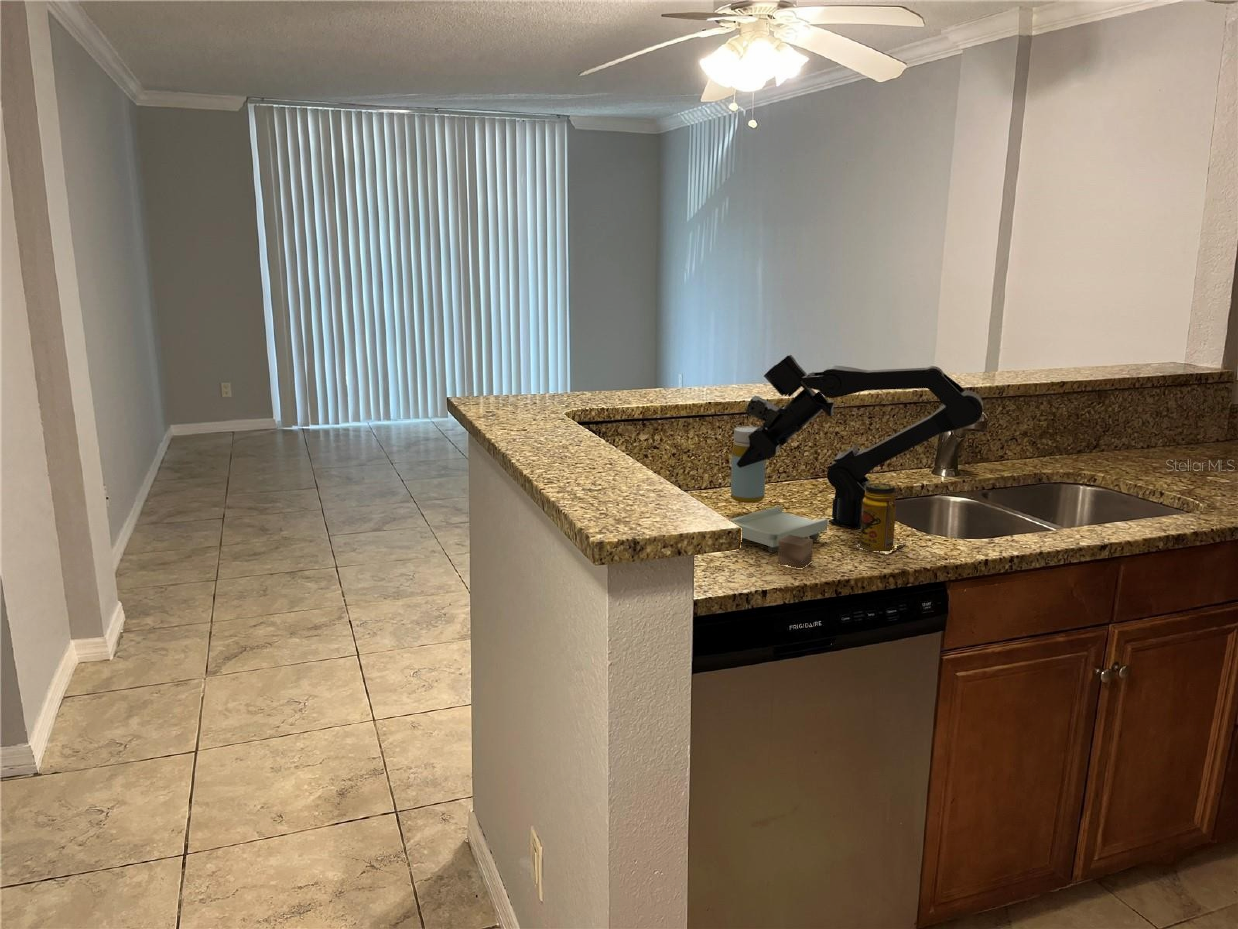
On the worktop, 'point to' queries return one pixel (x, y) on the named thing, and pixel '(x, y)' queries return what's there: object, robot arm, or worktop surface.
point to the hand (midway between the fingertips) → (742, 462)
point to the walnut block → (795, 551)
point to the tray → (777, 527)
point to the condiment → (878, 518)
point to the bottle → (746, 470)
